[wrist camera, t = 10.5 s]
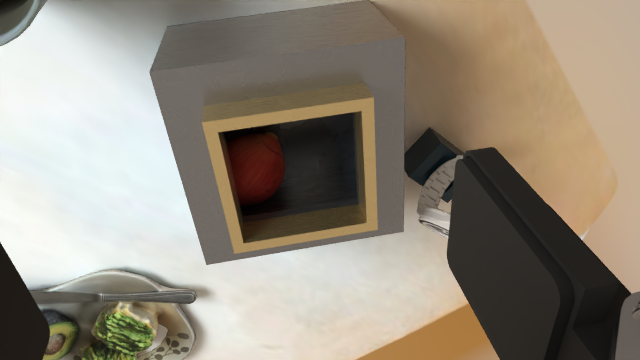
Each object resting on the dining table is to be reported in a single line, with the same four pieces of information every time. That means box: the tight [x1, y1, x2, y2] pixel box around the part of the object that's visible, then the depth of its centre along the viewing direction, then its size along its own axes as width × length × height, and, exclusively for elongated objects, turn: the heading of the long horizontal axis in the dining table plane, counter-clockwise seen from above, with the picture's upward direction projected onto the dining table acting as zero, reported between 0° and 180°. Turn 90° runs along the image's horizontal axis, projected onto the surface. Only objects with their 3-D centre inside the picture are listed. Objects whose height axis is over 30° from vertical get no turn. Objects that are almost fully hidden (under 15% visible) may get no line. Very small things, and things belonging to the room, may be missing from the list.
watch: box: [404, 128, 464, 238], centre depth 44 cm, size 6×8×11 cm
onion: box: [226, 132, 285, 206], centre depth 42 cm, size 6×6×8 cm
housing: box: [150, 0, 405, 265], centre depth 38 cm, size 16×16×12 cm
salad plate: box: [29, 269, 196, 360], centre depth 52 cm, size 19×18×5 cm
